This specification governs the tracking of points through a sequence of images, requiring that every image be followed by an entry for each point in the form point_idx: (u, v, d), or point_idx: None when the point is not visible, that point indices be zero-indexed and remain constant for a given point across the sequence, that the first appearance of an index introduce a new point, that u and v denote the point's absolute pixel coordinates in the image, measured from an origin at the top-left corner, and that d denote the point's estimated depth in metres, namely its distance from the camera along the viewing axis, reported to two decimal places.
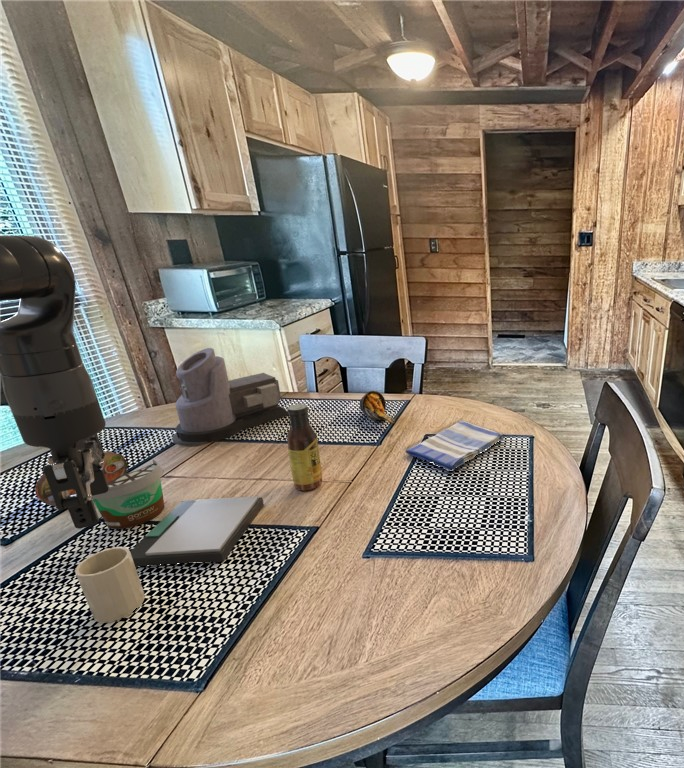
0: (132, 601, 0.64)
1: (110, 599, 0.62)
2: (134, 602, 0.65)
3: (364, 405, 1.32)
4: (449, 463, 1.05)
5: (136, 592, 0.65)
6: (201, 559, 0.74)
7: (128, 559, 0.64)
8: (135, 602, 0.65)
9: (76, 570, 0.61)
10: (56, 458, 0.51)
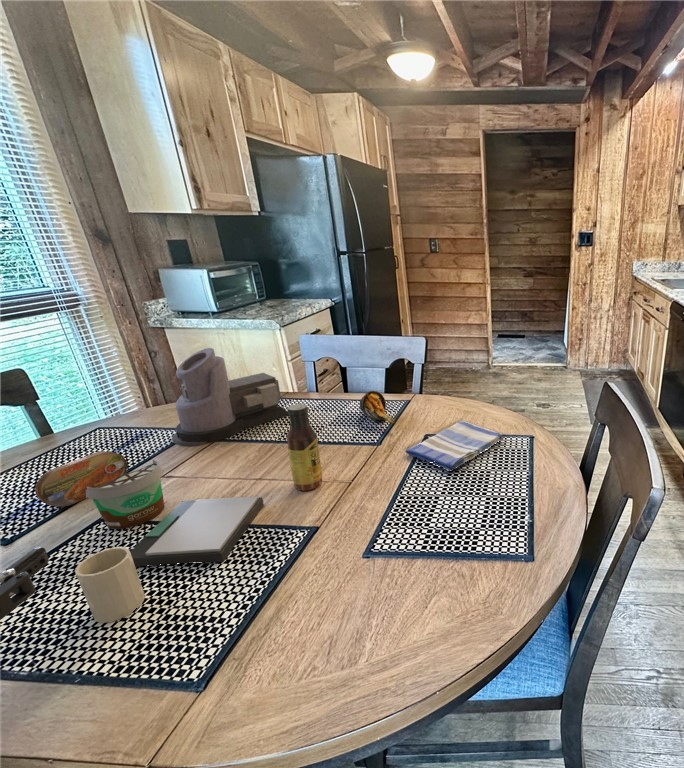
0: (132, 601, 0.64)
1: (110, 599, 0.62)
2: (134, 602, 0.65)
3: (364, 405, 1.32)
4: (449, 463, 1.05)
5: (136, 592, 0.65)
6: (201, 559, 0.74)
7: (128, 559, 0.64)
8: (135, 602, 0.65)
9: (76, 570, 0.61)
10: None
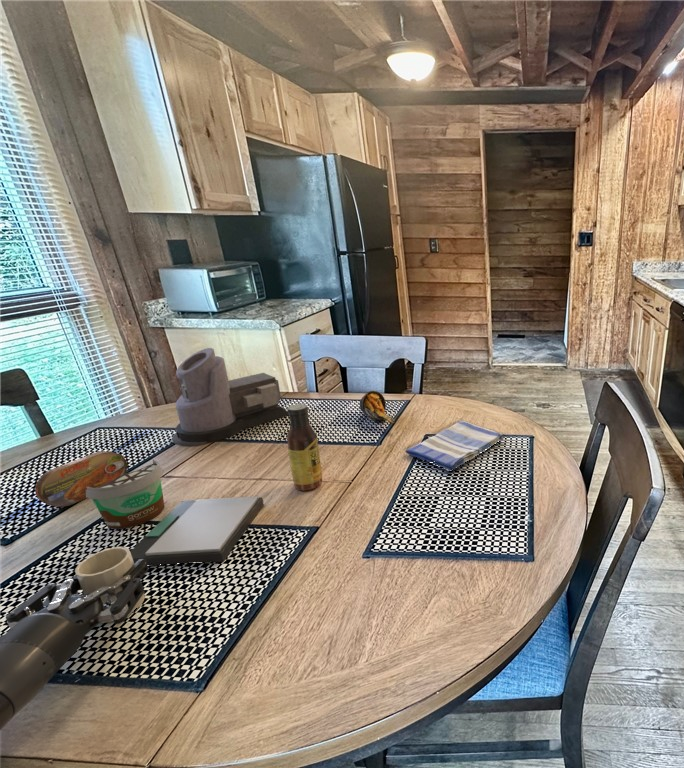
0: None
1: None
2: None
3: (364, 405, 1.32)
4: (449, 463, 1.05)
5: None
6: (201, 559, 0.74)
7: (128, 559, 0.64)
8: None
9: (76, 570, 0.61)
10: None
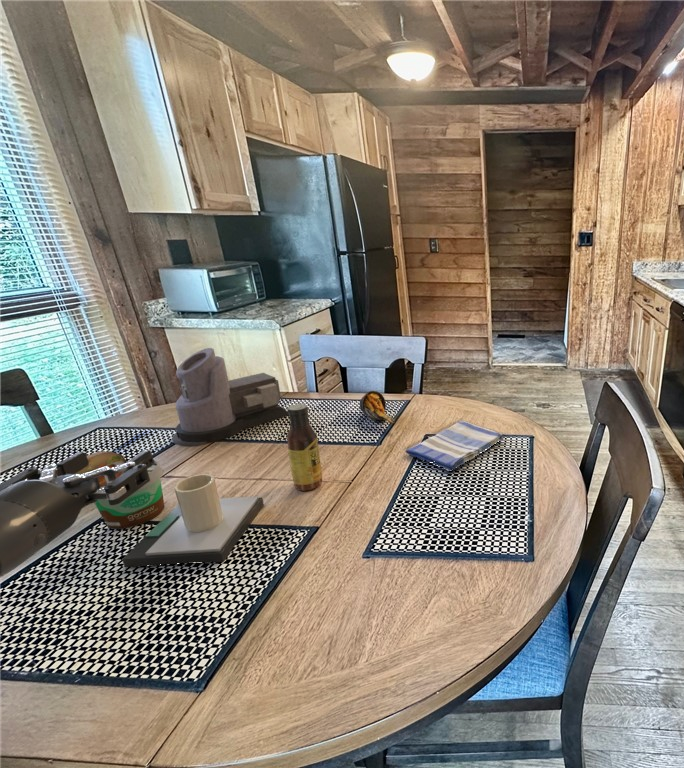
0: (216, 517, 0.80)
1: (201, 512, 0.77)
2: (217, 518, 0.80)
3: (364, 405, 1.32)
4: (449, 463, 1.05)
5: (218, 510, 0.81)
6: (201, 559, 0.74)
7: (213, 482, 0.79)
8: (218, 518, 0.80)
9: (175, 488, 0.76)
10: None
